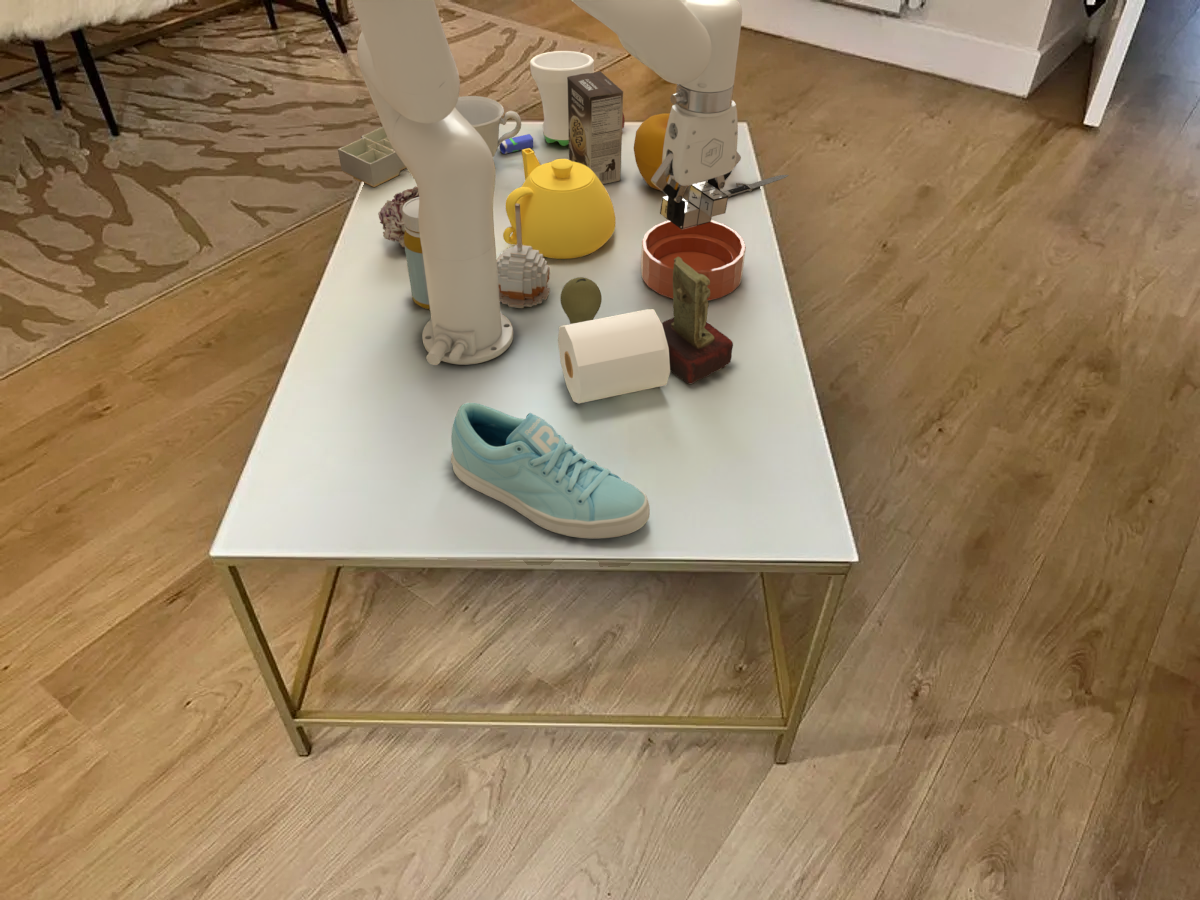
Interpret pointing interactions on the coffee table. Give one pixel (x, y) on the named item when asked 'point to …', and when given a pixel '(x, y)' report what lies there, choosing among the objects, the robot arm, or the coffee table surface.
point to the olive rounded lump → (580, 299)
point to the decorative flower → (396, 215)
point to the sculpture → (693, 328)
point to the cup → (557, 88)
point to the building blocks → (700, 204)
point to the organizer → (371, 159)
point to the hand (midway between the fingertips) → (692, 215)
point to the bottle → (415, 253)
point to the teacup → (487, 119)
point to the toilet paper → (614, 355)
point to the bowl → (693, 256)
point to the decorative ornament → (522, 273)
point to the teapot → (560, 209)
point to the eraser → (516, 144)
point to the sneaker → (542, 475)
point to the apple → (651, 146)
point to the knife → (752, 185)
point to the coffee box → (595, 124)
